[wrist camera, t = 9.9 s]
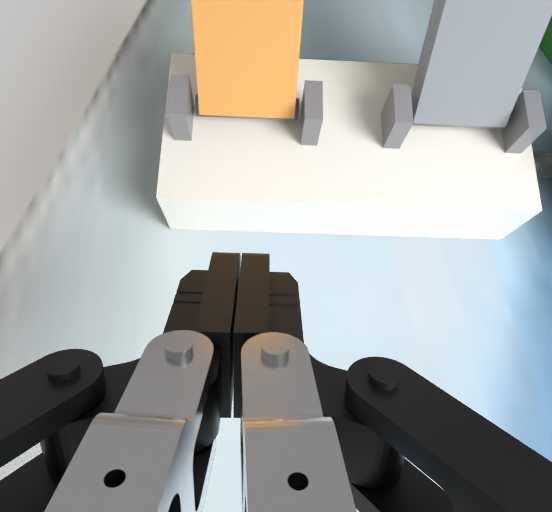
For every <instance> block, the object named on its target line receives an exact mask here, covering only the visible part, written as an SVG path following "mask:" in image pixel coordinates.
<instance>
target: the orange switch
mask: <svg viewBox="0 0 552 512" xmlns="http://www.w3.org/2000/svg"><path fill="white" fill-rule="evenodd" d="M191 5H192V19H193V33H194V47H195V61H196V75H197V89H198V94H196V97H195V112H196V116H201V117H226V118H251V119H276V120H298V117H299V98H296V93H297V80H298V68H299V56H300V43H301V31H302V18H303V6H304V0H191Z"/></svg>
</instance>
